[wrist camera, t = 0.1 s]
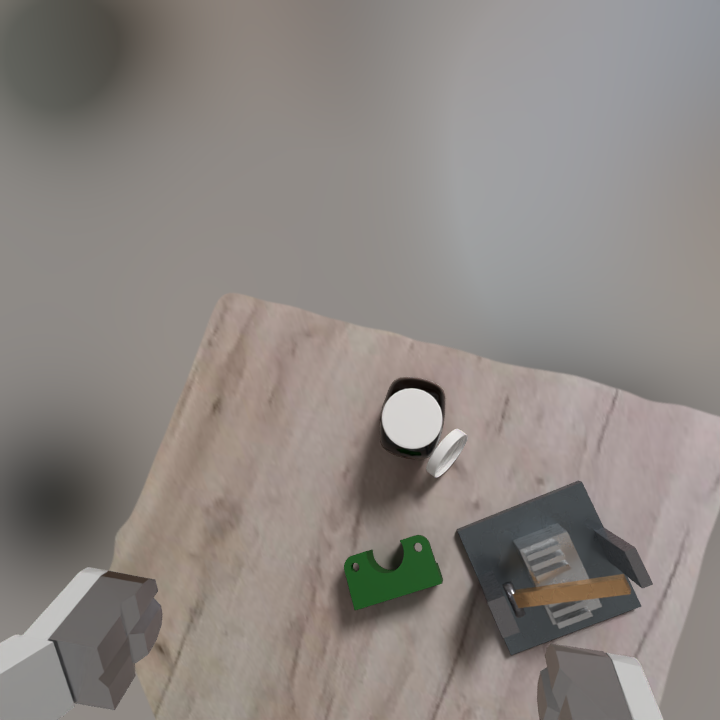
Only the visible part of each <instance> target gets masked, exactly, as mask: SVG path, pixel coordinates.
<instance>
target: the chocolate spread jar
mask: <svg viewBox="0 0 720 720" xmlns="http://www.w3.org/2000/svg"><path fill="white" fill-rule="evenodd" d="M444 418H445V394H444V391H443V389H442V387H440V386H439V385H438V384H436V383H434V382H432V381H429V380H426V379H422V378H416V377H401V378H398V379H396V380H394V382H393V383H392V384H391V386H390V388H389V390H388V392H387V395H386V398H385V401H384V404H383V407H382V412H381V417H380V442H381V445H382V446H383V448H384V449H385V450H386V451H388V452H390V453H392V454H394V455H397V456H400V457H404V458H408V459H426V458H428V457H430V456H431V455H432V456H431V457H430V459H429V461H428V464H427V467H426V470H427V472H429V473H430V474H431V475H432V476H434V477H435V478H437V477H439V476H441V475H442V474H443V473H444V472H445V471H446V470H447V469H448V468H449V467H450V466H451V465H452V464H453V462H454V461H455V460H456V459H457V457H458V456H459V454H460V453H461V451H462V449H463V448H464V446H465V444H466V441H467V438H468V436H467V435H466V434H465V433H464V432H462V431H461V430H459V429H455V430H453V431H452V432H450V433H449V434H448V435H447V436H446V437H445V438H444V439H443V440H442V442H441V443H440V444H439V445H438V442H439V439H440V436H441V433H442V429H443V425H444ZM437 445H438V447H437ZM436 447H437V448H436Z"/></svg>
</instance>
